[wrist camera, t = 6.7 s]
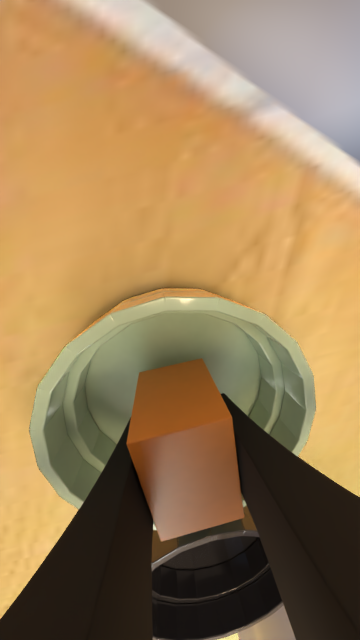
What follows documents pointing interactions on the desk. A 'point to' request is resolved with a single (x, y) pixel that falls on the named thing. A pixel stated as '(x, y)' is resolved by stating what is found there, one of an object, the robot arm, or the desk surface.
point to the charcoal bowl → (211, 582)
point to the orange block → (184, 450)
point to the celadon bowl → (155, 352)
